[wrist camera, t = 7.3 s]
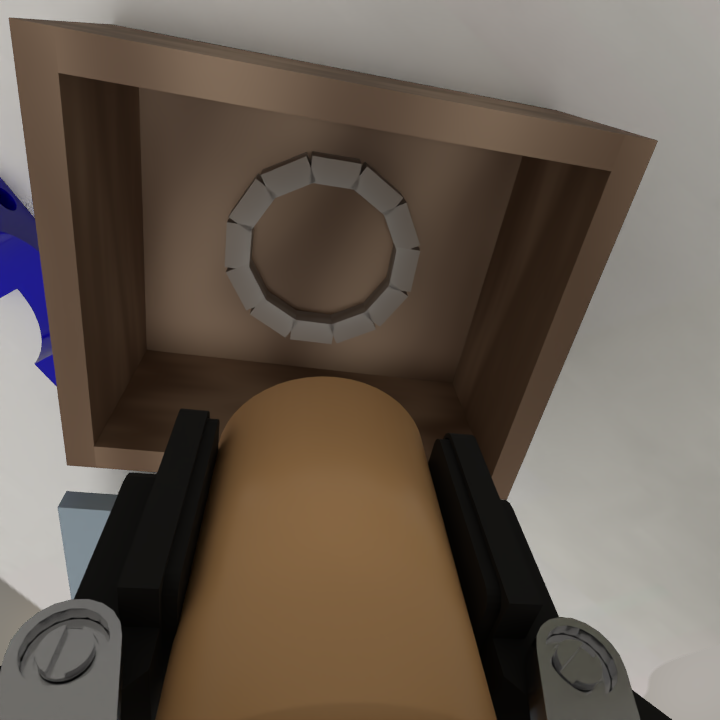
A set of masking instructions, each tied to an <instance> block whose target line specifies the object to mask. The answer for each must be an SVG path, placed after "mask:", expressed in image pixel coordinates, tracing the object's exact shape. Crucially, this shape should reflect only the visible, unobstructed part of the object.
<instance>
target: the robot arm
mask: <svg viewBox="0 0 720 720" xmlns="http://www.w3.org/2000/svg"><path fill="white" fill-rule="evenodd" d="M219 424H220V421H219V419H211V418H210V412H209V411H204V410H193V409H182V408H181V409H180V411H179V413H178V416H177V418H176V421H175V424H174V427H173V430H172V433H171V435H170V438H169V441H168V444H167V447H166V449H165V452H164V455H163V458H162V461H161V464H160V466H159V469H158V472H157V474H143V473H129V474H128V475H127V476H126V478H125V480H124V481H123V484H122V486H121V488H120V491H119V493H118V496H117V498H116V500H115V503H114V505H113V507H112V510H111V512H110V514H109V517H108V519H107V522H106V524H105V526H104V529H103V531H102V533H101V536H100V538H99V540H98V543H97V545H96V548H95V550H94V552H93V555H92V557H91V559H90V562H89V564H88V566H87V569H86V571H85V574H84V576H83V578H82V581H81V583H80V585H79V588H78V590H77V592H76V595H75V597H74V599H72V600H68V601H64V602H60V603H56V604H54V605H52V606H50V607H48V608H46V609H44V610H42V611H40V612H38V613H37V614H35V615H34V616H33V617H32V618H30V619H29V620H28V621H27V622H25V623H24V624H23V625H22V626H21V628H20V629H19V630H18V631H17V633H16V634H15V635H14V636H13V638H12V639H11V641H10V643H9V645H8V648H7V650H6V653H5V655H4V659H3V663H2V666H0V720H155V718H156V714H157V710H158V705H159V701H160V697H161V692H162V688H163V683H164V679H165V675H166V670H167V666H168V662H169V657H170V653H171V649H172V644H173V641H174V638H175V635H176V632H177V629H178V625H179V620H180V616H181V611H182V607H183V603H184V598H185V594H186V589H187V585H188V581H189V576H190V572H191V567H192V563H193V558H194V554H195V550H196V545H197V541H198V536H199V532H200V528H201V523H202V519H203V514H204V510H205V506H206V501H207V497H208V492H209V488H210V484H211V479H212V475H213V470H214V466H215V461H216V457H217V453H218V444H219ZM428 466H429V470H430V473H431V477H432V481H433V484H434V488H435V492H436V495H437V499H438V503H439V507H440V510H441V514H442V518H443V521H444V525H445V529H446V533H447V536H448V540H449V544H450V547H451V551H452V555H453V558H454V562H455V566H456V570H457V573H458V577H459V581H460V584H461V588H462V592H463V596H464V599H465V603H466V607H467V610H468V614H469V618H470V622H471V625H472V629H473V633H474V636H475V640H476V644H477V647H478V651H479V655H480V659H481V662H482V666H483V670H484V673H485V677H486V681H487V685H488V688H489V692H490V696H491V699H492V703H493V707H494V710H495V714H496V718H497V720H672V719H670V718H669V717H668V716H666V715H665V714H664V713H662V712H661V711H660V710H658V709H657V708H656V707H654V706H653V705H652V704H650V703H649V702H648V701H646V700H645V699H644V698H642V697H641V696H640V695H638V694H637V693H636V692H634V691H633V690H632V689H631V685H630V682H629V678H628V675H627V671H626V669H625V666H624V664H623V662H622V659H621V657H620V655H619V654H618V652H617V651H616V650H615V648H614V647H613V645H612V644H611V643H610V642H609V641H608V640H607V639H606V638H605V637H604V636H603V635H602V634H601V633H600V632H598V631H597V630H595V629H594V628H592V627H591V626H589V625H587V624H586V623H583V622H581V621H578V620H575V619H573V618H564V617H559V616H558V614H557V611H556V609H555V607H554V604H553V602H552V600H551V597H550V595H549V593H548V590H547V588H546V586H545V583H544V581H543V578H542V576H541V574H540V571H539V569H538V567H537V564H536V562H535V560H534V557H533V555H532V553H531V550H530V548H529V545H528V543H527V541H526V538H525V536H524V534H523V531H522V529H521V527H520V524H519V522H518V520H517V517H516V515H515V512H514V510H513V508H512V506H511V505H510V503H509V502H508V501H506V500H501V499H500V497H499V495H498V492H497V490H496V487H495V485H494V482H493V480H492V477H491V475H490V473H489V470H488V468H487V465H486V463H485V460H484V458H483V455H482V453H481V450H480V448H479V445H478V443H477V440H476V438H475V437H474V436H473V435H467V434H456V433H446V434H445V436H444V438H443V439H436V441H435V443H434V446H433V449H432V452H431V455H430V459H429V462H428Z"/></svg>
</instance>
